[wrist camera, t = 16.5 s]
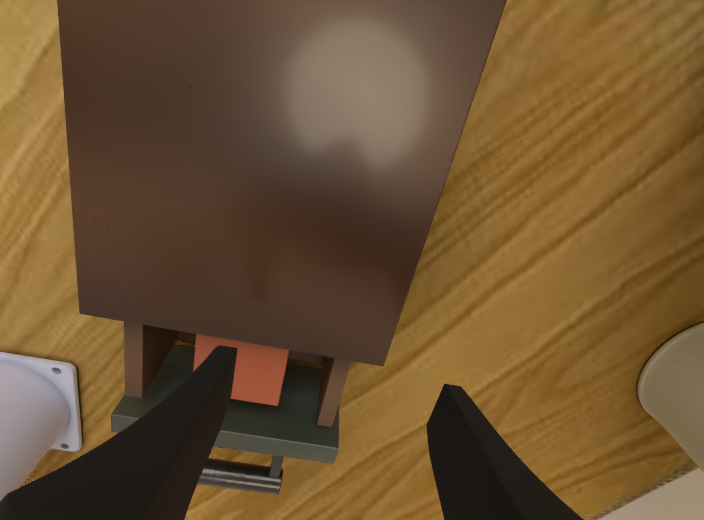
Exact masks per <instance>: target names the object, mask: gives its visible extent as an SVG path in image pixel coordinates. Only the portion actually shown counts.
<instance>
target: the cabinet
mask: <svg viewBox="0 0 704 520" xmlns="http://www.w3.org/2000/svg"><path fill="white" fill-rule="evenodd" d="M506 1H507V0H57V3H58V17H59V31H60V45H61V59H62V73H63V87H64V101H65V115H66V129H67V143H68V157H69V171H70V186H71V200H72V214H73V228H74V242H75V256H76V270H77V284H78V298H79V312H80V314H85V315H91V316H96V317H102V318H108V319H114V320H119V321H125V322H131V323H137V324H142V325H148V326H154V327H160V328H165V329H171V330H177V331H183V332H188V333H194V334H200V335H206V336H211V337H217V338H223V339H229V340H234V341H240V342H246V343H252V344H257V345H263V346H269V347H275V348H280V349H286V350H292V351H298V352H303V353H309V354H315V355H320V356H326V357H332V358H338V359H343V360H349V361H355V362H361V363H366V364H372V365H378V366H384V363H385V360H386V357H387V354H388V351H389V348H390V345H391V342H392V339H393V336H394V333H395V330H396V327H397V324H398V321H399V318H400V315H401V312H402V309H403V306H404V303H405V300H406V297H407V294H408V292H409V289H410V286H411V283H412V280H413V277H414V274H415V271H416V268H417V265H418V262H419V259H420V256H421V253H422V250H423V247H424V244H425V241H426V238H427V235H428V232H429V229H430V226H431V223H432V220H433V217H434V214H435V211H436V208H437V205H438V202H439V200H440V197H441V194H442V191H443V188H444V185H445V182H446V179H447V176H448V173H449V170H450V167H451V164H452V161H453V158H454V155H455V152H456V149H457V146H458V143H459V140H460V137H461V134H462V131H463V128H464V125H465V122H466V119H467V116H468V113H469V110H470V108H471V105H472V102H473V99H474V96H475V93H476V90H477V87H478V84H479V81H480V78H481V75H482V72H483V69H484V66H485V63H486V60H487V57H488V54H489V51H490V48H491V45H492V42H493V39H494V36H495V33H496V30H497V27H498V24H499V21H500V18H501V16H502V13H503V10H504V7H505V4H506Z"/></svg>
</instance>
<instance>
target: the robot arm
mask: <svg viewBox="0 0 704 520" xmlns="http://www.w3.org/2000/svg"><path fill="white" fill-rule="evenodd" d="M237 350H238V348H234V347H228V346H223V345H218V346H216V347H215V348H214V349H213V351H212V352H211V353H210V354H209V355H208V357H207V358H206V359H205V360H204V361H203V362H202V363H201V364H200V365H199V366H198V367H197V368H196V369H195V370H194V371H193V372H192V373H191V374H190V375H189V376H188V377H187V378H186V379H185V380H184V381H183V382H182V383H181V384H180V385H179V386H178V387H177V388H176V389H175V390H173V391H172V392H171V393H170V394H169V395H168V396H166V397H165V398H164V399H163V400H162V401H161V402H159V403H158V404H157V405H156V406H155V407H153V408H152V409H151V410H150V411H148V412H147V413H146V414H144V415H143V416H142V417H140V418H139V419H138V420H136V421H135V422H134V423H132V424H131V425H130V426H128V427H127V428H125V429H124V430H122V431H121V432H119V433H118V434H116V435H115V436H113V437H112V438H110V439H109V440H107V441H106V442H104V443H102V444H101V445H99V446H98V447H96V448H94V449H93V450H91V451H89V452H87V453H86V454H84V455H82V456H80V457H79V458H77V459H75V460H73V461H72V462H70V463H68V464H66V465H65V466H63V467H61V468H59V469H57V470H55V471H53V472H51V473H49V474H47V475H45V476H43V477H41V478H39V479H37V480H35V481H33V482H31V483H29V484H27V485H25V486H22V487H21V485H22V484H23V483H24V481H25V480H26V479H27V478H28V476H29V475H30V474H31V472H32V471H33V470H34V469H35V467H36V466H37V465H38V463H39V462H40V461H41V459H42V458H43V457H44V456H45V454H46V453H47V452H48V450H49V449H58V450H65V451H72V452H76V451H78V450H79V449H80V448H81V447H82V433H81V421H80V409H79V396H78V384H77V372H76V367H75V366H74V365H73V364H71V363H67V362H60V361H54V360H48V359H42V358H36V357H29V356H23V355H17V354H11V353H4V352H0V520H184V519H185V516H186V513H187V510H188V507H189V504H190V501H191V498H192V496H193V493H194V490H195V488H196V485H197V483H198V481H199V478H200V476H201V474H202V471H203V469H204V467H205V464H206V462H207V459H208V457H209V455H210V452H211V450H212V448H213V445H214V443H215V441H216V438H217V436H218V433H219V431H220V429H221V426H222V424H223V421H224V418H225V414H226V411H227V408H228V404H229V401H230V398H231V394H232V387H233V380H234V372H235V365H236V357H237ZM59 369H60V370H59ZM427 435H428V445H429V454H430V459H431V463H432V468H433V472H434V477H435V481H436V485H437V490H438V494H439V498H440V503H441V507H442V511H443V516H444V520H583V519H582V518H581V517H580V516H579V515H577V514H576V513H575V512H574V511H573V510H572V509H571V508H570V507H568V506H567V505H566V504H565V503H564V502H563V501H562V500H560V499H559V498H558V497H557V496H556V495H555V494H554V493H553V492H552V491H551V490H550V489H549V488H548V487H547V486H546V485H545V484H544V483H543V482H542V481H541V480H540V479H539V478H538V477H537V476H536V475H535V474H534V473H533V472H532V471H531V470H530V469H529V468H528V467H527V466H526V465H525V464H524V463H523V462H522V461H521V460H520V458H519V457H518V456H517V455H516V454H515V453H514V452H513V451H512V449H511V448H510V447H509V446H508V445H507V444H506V442H505V441H504V440H503V439H502V438H501V436H500V435H499V434H498V433H497V432H496V430H495V429H494V428H493V427H492V425H491V424H490V423H489V422H488V420H487V419H486V418H485V416H484V415H483V414H482V413H481V411H480V410H479V409H478V407H477V406H476V405H475V403H474V402H473V401H472V400H471V398H470V397H469V396H468V394H467V393H466V392H465V391H464V390H463V388H462V387H461V386H455V385H449V384H444V386H443V388H442V391H441V393H440V395H439V398H438V400H437V402H436V405H435V407H434V409H433V412H432V414H431V416H430V419H429V421H428V423H427Z"/></svg>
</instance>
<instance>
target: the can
mask: <svg viewBox="0 0 704 520" xmlns="http://www.w3.org/2000/svg"><path fill="white" fill-rule="evenodd" d="M638 397H639V400H640V403H641V405H642V406H643V408H644V409H645V411H646V412H647V413H648V414H649V415H651V416H652V417H653V418H655V419H656V420H657V421H658V422H659V423H660V424H661V425H662V426H663V427H664V429H665V430H666V431H667V432H668V433H669V434H670V435H671V436H672V437H673V438H674V440H675V441H676V442H677V443H678V444H679V445H680V446H681V447H682V448H683V450H684V451H685V452H686V453H687V454H688V455H689V456H690V457H691V459H692V460H693V461H694V462H695V463H696V464H697V465H698V466H699V468H700V469H701V470H702V471H703V472H704V322H703V323H700V324H698V325H695V326H693V327H690V328H688V329H686V330H684V331H682V332H681V333H679V334H677V335H676V336H674V337H673V338H671V339H670V340H669V341H667V342H666V343H665V344H663V345H662V346H661V347H660V348H659V349H658V350H657V351H656V352H655V353H654V354H653V355H652V357H651V358H650V359H649V360H648V362H647V363H646V365H645V367H644V368H643V370H642V373H641V375H640V378H639V382H638Z"/></svg>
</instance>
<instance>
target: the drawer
mask: <svg viewBox="0 0 704 520" xmlns="http://www.w3.org/2000/svg"><path fill="white" fill-rule="evenodd" d="M177 340H182V341H188V342H193V343H196V334H194V333H188V332H183V331H177V330H171V329H165V328H160V327H154V326H148V325H142V324H137V323H131V322H125V321H124V347H125V395H124V396H123V398H122V399H121V400H120V402H119V403H118V405H117V406H116V408H115V409H114V411H113V412H112V414H111V429H112V432H117V433H119V432H121V431H122V430H124V429H125V428H127V427H128V426H130V425H131V424H132V423H134V422H135V421H136V420H138V419H139V418H140V417H142V416H143V415H144V414H146V413H147V412H148V411H150V410H151V409H152V408H153V407H155V406H156V405H157V404H158V403H159V402H161V401H162V400H163V399H164V398H165V397H166V396H168V395H169V394H170V393H171V392H172V391H173V390H175V389H176V388H177V387H178V386H179V385H180V384H181V383H182V382H183V381H184V380H185V379H186V378H187V377H188V376H189V375H190V374H191V373H192V372H193V368H194V355H195V348H194V347H188V346H182V345H176V344H175V343H176V342H177ZM288 359H292V360H298V361H304V362H310V363H316V364H322V365H321V369H317V368H311V367H305V366H299V365H293V364H287V365H286V370H285V375H284V380H283V384H282V389H281V394H280V399H279V404H278V406H274V405H268V404H261V403H255V402H249V401H242V400H236V399H230V401H229V404H228V408H227V411H226V414H225V418H224V421H223V424H222V426H221V429H220V431H219V433H218V436H217V438H216V441H215V443H214V445H213V446H214V447H221V448H228V449H235V450H242V451H249V452H256V453H263V454H270V455H273V458H272V463H271V467H269V466H262V465H254V464H247V463H240V462H233V461H226V460H219V459H212V458H208V459H207V462H206V464H205V467H204V469H203V471H202V474H201V476H200V478H199V481H198V483H197V484H200V485H208V486H215V487H223V488H230V489H238V490H245V491H253V492H260V493H268V494H275V495H278V494H279V492H280V488H281V483H282V477H283V469H282V468H281V467H282V462H283V458H284V457H291V458H297V459H304V460H311V461H318V462H325V463H332V464H333V463H334V461H335V458H336V455H337V452H338V448H339V401H340V398H341V395H342V391H343V388H344V384H345V381H346V377H347V374H348V370H349V367H350V364H351V361H349V360H343V359H338V358H332V357H326V356H320V355H315V354H309V353H303V352H298V351H292V350H289V355H288Z"/></svg>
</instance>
